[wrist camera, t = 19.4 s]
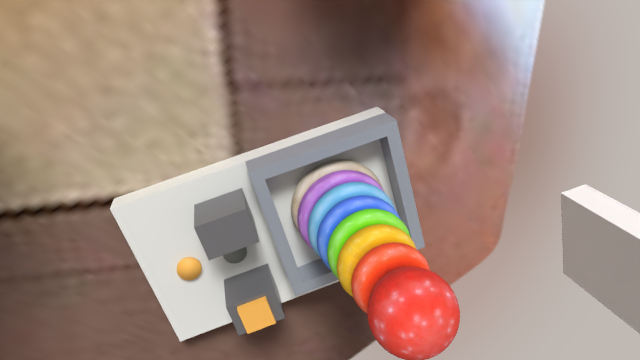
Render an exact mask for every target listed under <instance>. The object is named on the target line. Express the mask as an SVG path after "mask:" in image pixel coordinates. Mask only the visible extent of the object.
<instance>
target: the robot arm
mask: <svg viewBox="0 0 640 360" xmlns="http://www.w3.org/2000/svg"><path fill="white" fill-rule="evenodd" d="M561 209H562V241H563V271H564V274H565V275H567V276H568V277H569V278H570V279H572V280H573V281H574V282H575V283H577V284H578V285H579V286H580V287H582V288H583V289H584V290H585V291H587V292H588V293H589V294H590V295H592V296H593V297H594V298H595V299H597V300H598V301H599V302H601V303H602V304H603V305H604V306H606V307H607V308H608V309H609V310H611V311H612V312H613V313H614V314H616V315H617V316H618V317H619V318H621V319H622V320H623V321H624V322H626V323H627V324H628V325H629V326H631V327H632V328H633V329H634V330H636V331H637V332H638V333H640V213H639V212H637V211H635V210H633V209H631V208H629V207H627V206H625V205H623V204H622V203H620V202H618V201H616V200H614V199H612V198H610V197H608V196H606V195H605V194H603V193H601V192H599V191H597V190H595V189H593V188H591V187H589V186H587V185H582V186H579V187H577V188H574V189H571V190H568V191H565V192H562V193H561Z"/></svg>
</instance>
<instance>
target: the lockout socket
mask: <svg viewBox="0 0 640 360" xmlns="http://www.w3.org/2000/svg"><path fill="white" fill-rule="evenodd" d="M378 139H380V143H381V147H382V151H383V155H384V159H385V163H386V167H387V171H388V175H389V179H390V183H391V187H392V191H393V196H394V200H395V204H396V208H397V212H398V215H399V216H400V219H401V221H402V222H403V223H404V224H405V225H406V227H407V229H408V231H409V233H410V237H411V239H412V240H413V242H414V244H415V246H416V249H417V250H418V249H420V248H423V247H425V244H424V240H423V236H422V231H421V227H420V222H419V218H418V214H417V209H416V205H415V200H414V196H413V191H412V187H411V183H410V178H409V174H408V169H407V165H406V161H405V156H404V152H403V147H402V143H401V139H400V134H399V130H398V125H397V121H396V120H395V119H394V118H393V117H391V116H390V115H388V114H387V113H386V112H385V113H382V114H379V115H376V116H373V117H370V118H368V119H365V120H362V121H359V122H356V123H353V124H351V125H348V126H345V127H342V128H339V129H336V130H333V131H331V132H328V133H325V134H322V135H319V136H316V137H314V138H311V139H308V140H305V141H302V142H299V143H296V144H294V145H291V146H288V147H285V148H282V149H279V150H276V151H274V152H271V153H268V154H265V155H262V156H259V157H257V158H254V159H251V160H248V161H245V162H246V166H247V170H248V173H249V176H250V179H251V181H252V184H253V187H254V189H255V192H256V194H257V197H258V200H259V202H260V205H261V208H262V210H263V213H264V216H265V218H266V221H267V223H268V226H269V229H270V231H271V234H272V237H273V239H274V242H275V245H276V247H277V250H278V252H279V255H280V258H281V260H282V263H283V266H284V268H285V271H286V274H287V276H288V279H289V281H290V284H291V287H292V289H293V292H294V295H295V296H297V295H300V294H302V293H305V292H307V291H310V290H313V289H315V288H318V287H321V286H323V285H326V284H328V283H331V282H334V281H336V280H339V279H338V278H337V277H336V276H335V275H334V274H333V272H332V271H331V270H330V269H329V268H328V267H327V266H326V265H325V264H324V262H323V261H322V259H318V260H315V261H313V262H310V263H307V264H305V265H302V266H299V267H297V264H296V262H295V259H294V256H293V254H292V251H291V248H290V245H289V243H288V240H287V237H286V234H285V232H284V229H283V226H282V223H281V221H280V218H279V215H278V212H277V210H276V207H275V204H274V202H273V199H272V196H271V193H270V191H269V188H268V185H267V182H266V180H265V179H268V178H271V177H274V176H277V175H280V174H282V173H285V172H288V171H291V170H294V169H296V168H299V167H302V166H305V165H308V164H310V163H313V162H316V161H319V160H322V159H324V158H327V157H330V156H333V155H336V154H339V153H341V152H344V151H347V150H350V149H353V148H355V147H358V146H361V145H364V144H367V143H369V142H372V141H375V140H378Z"/></svg>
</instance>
